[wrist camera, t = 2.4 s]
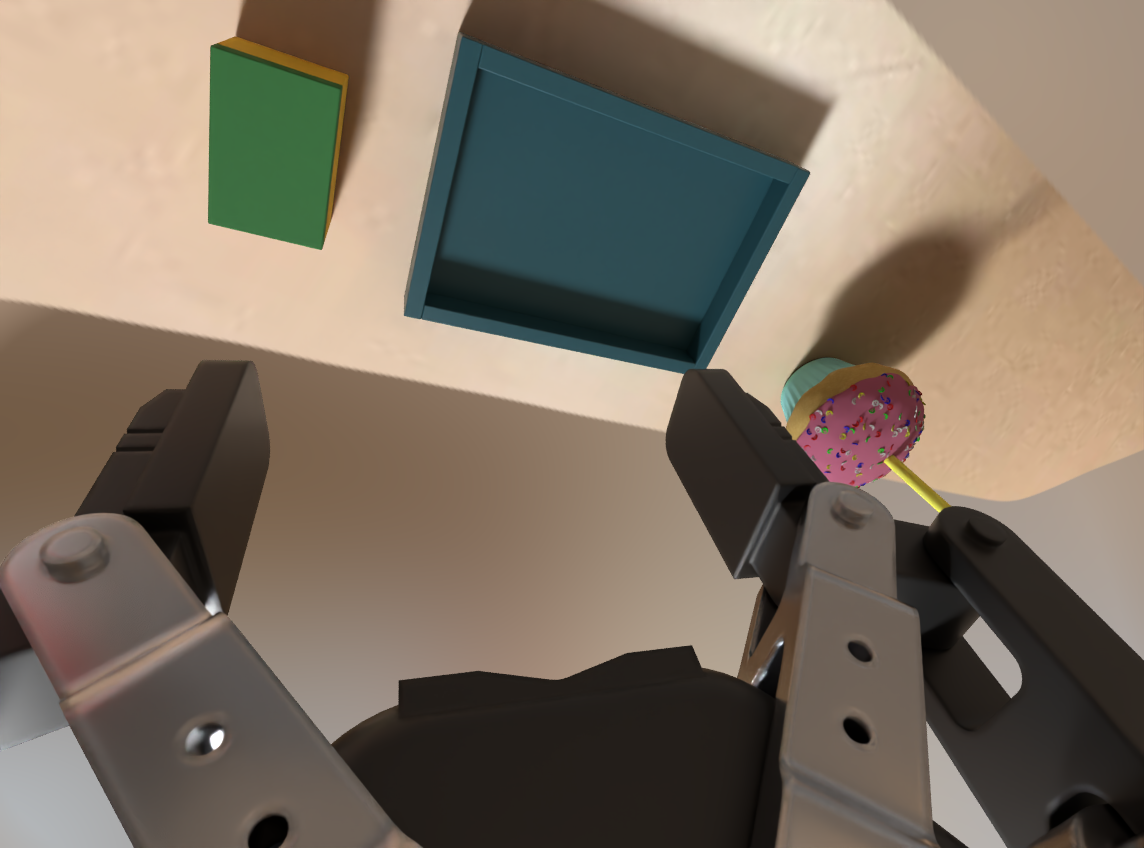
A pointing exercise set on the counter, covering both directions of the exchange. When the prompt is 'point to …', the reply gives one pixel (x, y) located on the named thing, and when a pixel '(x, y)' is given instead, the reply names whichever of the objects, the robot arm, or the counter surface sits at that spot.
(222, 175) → the sponge
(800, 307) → the counter surface
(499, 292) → the tray
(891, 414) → the cupcake
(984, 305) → the counter surface
